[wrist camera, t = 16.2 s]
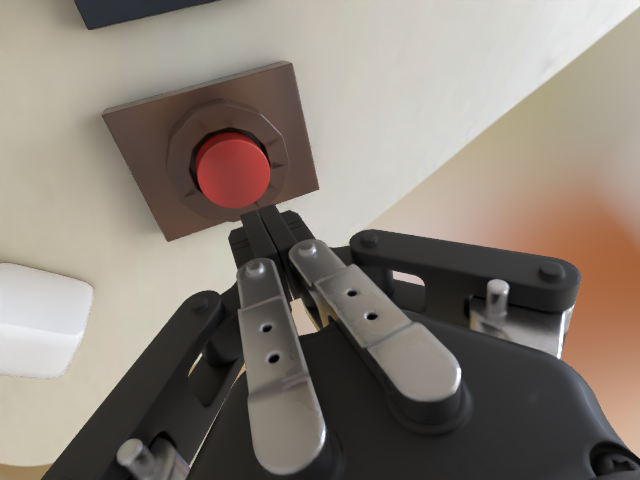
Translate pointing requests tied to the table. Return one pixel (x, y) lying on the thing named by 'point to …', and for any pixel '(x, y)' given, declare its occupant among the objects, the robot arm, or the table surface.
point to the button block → (198, 126)
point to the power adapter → (40, 321)
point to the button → (232, 170)
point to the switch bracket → (128, 10)
